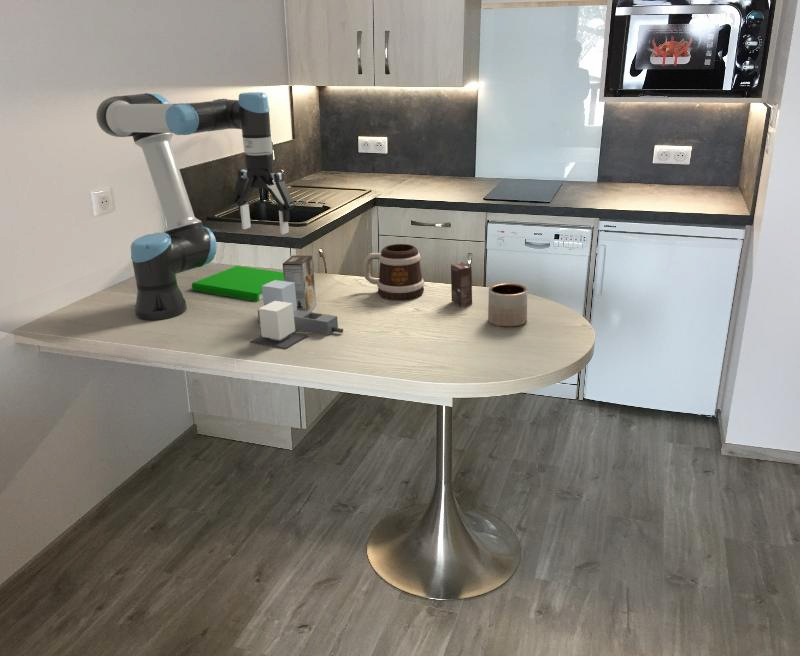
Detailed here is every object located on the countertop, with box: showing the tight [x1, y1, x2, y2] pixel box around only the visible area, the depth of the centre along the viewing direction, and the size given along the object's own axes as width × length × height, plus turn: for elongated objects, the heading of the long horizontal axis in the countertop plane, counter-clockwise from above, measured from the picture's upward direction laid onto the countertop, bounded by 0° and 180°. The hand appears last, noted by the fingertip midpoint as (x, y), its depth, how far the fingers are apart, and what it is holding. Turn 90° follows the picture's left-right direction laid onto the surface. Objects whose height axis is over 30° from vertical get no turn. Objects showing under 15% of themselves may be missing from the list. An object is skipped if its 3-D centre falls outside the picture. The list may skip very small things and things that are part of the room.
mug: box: [362, 243, 425, 301], centre depth 228 cm, size 20×15×15 cm
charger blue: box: [262, 280, 297, 311], centre depth 205 cm, size 7×6×9 cm
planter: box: [487, 282, 528, 328], centre depth 202 cm, size 11×11×10 cm
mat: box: [249, 331, 309, 350], centre depth 196 cm, size 12×10×1 cm
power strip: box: [257, 309, 344, 336], centre depth 204 cm, size 27×5×4 cm, turn 62°
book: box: [191, 265, 284, 302], centre depth 243 cm, size 22×28×3 cm
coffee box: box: [282, 255, 317, 312], centre depth 215 cm, size 9×6×16 cm
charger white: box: [258, 301, 296, 341], centre depth 195 cm, size 7×6×9 cm
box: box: [450, 261, 473, 308], centre depth 216 cm, size 6×4×12 cm
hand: (265, 230), depth 201 cm, fingers open, 13 cm apart
